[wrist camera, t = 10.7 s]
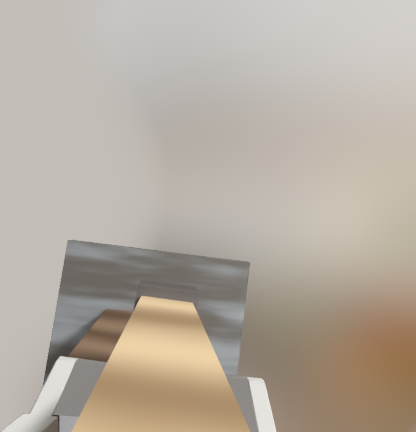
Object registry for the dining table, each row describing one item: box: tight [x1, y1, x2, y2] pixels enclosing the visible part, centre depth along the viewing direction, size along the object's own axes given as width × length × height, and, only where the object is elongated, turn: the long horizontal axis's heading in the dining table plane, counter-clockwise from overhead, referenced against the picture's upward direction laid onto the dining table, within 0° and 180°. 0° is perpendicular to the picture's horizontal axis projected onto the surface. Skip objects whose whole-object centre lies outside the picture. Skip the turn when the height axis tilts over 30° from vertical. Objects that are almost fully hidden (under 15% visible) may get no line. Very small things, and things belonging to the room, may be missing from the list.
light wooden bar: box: [72, 279, 251, 432], centre depth 12 cm, size 16×4×4 cm, turn 8°
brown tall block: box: [43, 240, 250, 386], centre depth 30 cm, size 19×24×34 cm
